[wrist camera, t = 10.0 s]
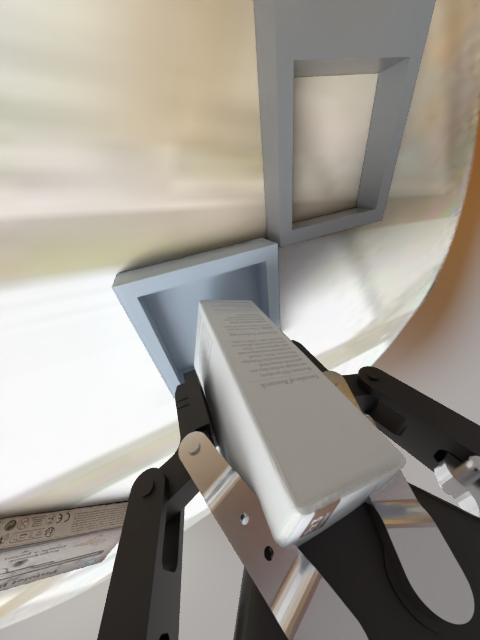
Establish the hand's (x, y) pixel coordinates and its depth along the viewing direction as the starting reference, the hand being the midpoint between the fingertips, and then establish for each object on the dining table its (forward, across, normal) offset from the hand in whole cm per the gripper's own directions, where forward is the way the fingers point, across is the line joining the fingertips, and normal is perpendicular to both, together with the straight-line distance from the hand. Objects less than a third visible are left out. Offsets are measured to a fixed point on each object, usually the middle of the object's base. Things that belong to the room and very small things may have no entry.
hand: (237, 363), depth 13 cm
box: (+7, +27, +23) cm, 36 cm away
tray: (+7, 0, 0) cm, 7 cm away
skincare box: (+4, 0, 0) cm, 4 cm away
